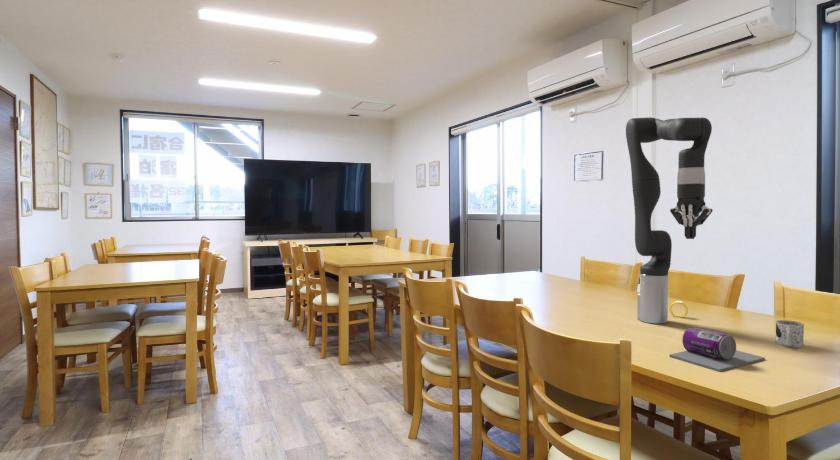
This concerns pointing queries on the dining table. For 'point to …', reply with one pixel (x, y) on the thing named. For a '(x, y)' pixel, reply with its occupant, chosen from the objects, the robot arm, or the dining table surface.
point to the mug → (789, 333)
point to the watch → (679, 303)
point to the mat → (717, 360)
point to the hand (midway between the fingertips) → (690, 238)
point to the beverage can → (709, 343)
